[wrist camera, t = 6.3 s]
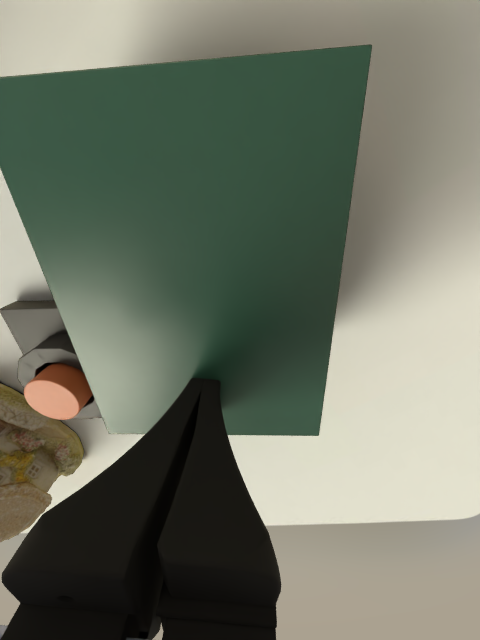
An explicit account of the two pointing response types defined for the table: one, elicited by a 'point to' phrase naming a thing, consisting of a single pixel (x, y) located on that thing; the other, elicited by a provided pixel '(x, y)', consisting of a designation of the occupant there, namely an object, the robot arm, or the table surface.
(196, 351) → the lid
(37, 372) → the switch block
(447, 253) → the table surface
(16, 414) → the ceramic model
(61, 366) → the button
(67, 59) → the table surface
